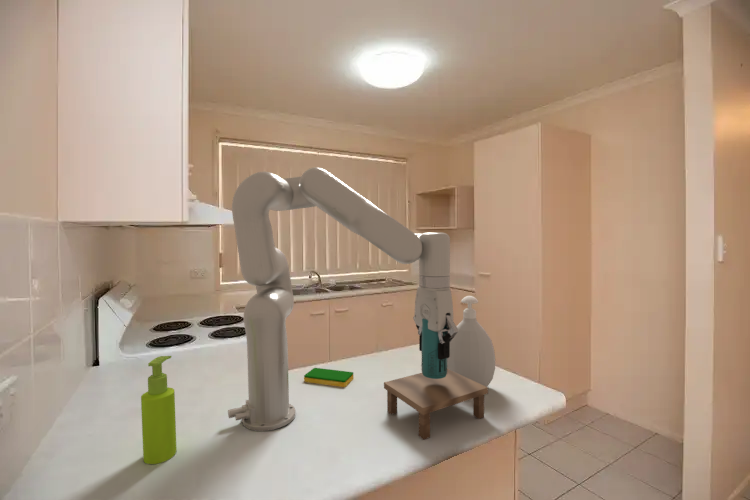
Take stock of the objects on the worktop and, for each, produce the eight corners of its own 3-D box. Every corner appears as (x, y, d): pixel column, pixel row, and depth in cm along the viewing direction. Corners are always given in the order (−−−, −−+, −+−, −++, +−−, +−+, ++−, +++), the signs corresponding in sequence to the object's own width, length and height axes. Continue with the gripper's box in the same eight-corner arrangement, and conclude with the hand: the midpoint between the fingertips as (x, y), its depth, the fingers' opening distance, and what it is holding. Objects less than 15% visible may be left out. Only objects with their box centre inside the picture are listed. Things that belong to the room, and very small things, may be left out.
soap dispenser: (184, 443, 79) (181, 353, 78) (167, 464, 72) (163, 364, 71) (156, 444, 79) (153, 353, 78) (136, 464, 72) (133, 365, 71)
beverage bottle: (440, 387, 86) (440, 303, 85) (415, 380, 90) (416, 300, 89) (452, 378, 91) (452, 299, 90) (428, 372, 95) (428, 297, 94)
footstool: (423, 441, 79) (423, 408, 78) (384, 411, 92) (383, 382, 92) (487, 417, 89) (487, 387, 88) (443, 393, 103) (443, 367, 102)
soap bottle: (493, 381, 110) (494, 293, 109) (496, 393, 102) (496, 298, 101) (445, 378, 113) (445, 292, 112) (444, 388, 105) (444, 297, 104)
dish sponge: (314, 374, 118) (314, 367, 118) (353, 379, 114) (353, 371, 114) (303, 383, 112) (303, 375, 111) (345, 388, 107) (344, 380, 107)
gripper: (401, 279, 95) (401, 347, 95) (446, 288, 80) (446, 368, 81) (424, 278, 98) (424, 342, 99) (471, 285, 84) (470, 362, 84)
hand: (434, 353), depth 90 cm, fingers closed on beverage bottle, 6 cm apart
